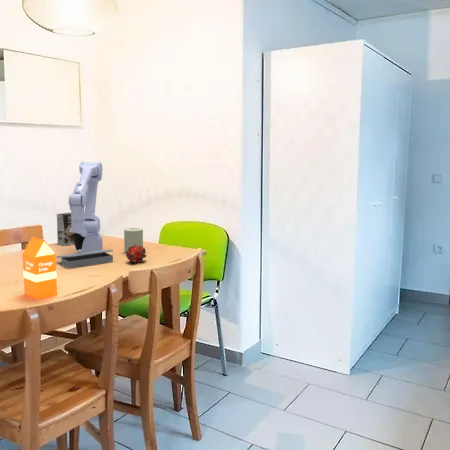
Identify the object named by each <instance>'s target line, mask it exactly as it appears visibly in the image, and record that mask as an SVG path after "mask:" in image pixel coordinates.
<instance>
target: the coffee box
mask: <svg viewBox="0 0 450 450" xmlns="http://www.w3.org/2000/svg"><path fill="white" fill-rule="evenodd" d="M56 228H57V229H56V231H57V233H56V234H57V245H60V246H65V247H66V246H72V245H75V244H74V241H73V239H72V237H71V235H72V234H74V233H73V232H69V230H70V228H72V226H71V212H65V213H63V212H62V213H56Z"/></svg>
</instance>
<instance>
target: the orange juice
mask: <svg viewBox="0 0 450 450" xmlns="http://www.w3.org/2000/svg"><path fill="white" fill-rule="evenodd" d="M21 254H22V269H23V271H22V272H23V273H22V274H23V286H24V287H23V289H24V290H23V291H24V295H26V294H27V295H26V296H28V295H29V296H28V297H30V296H31V297H30V298H32V297H33V298H32V299H35V300H39V299H40V300H41V299H44V298H49V297H54V296H57V295H58V283H57V280H58V279H57V262H56V261H57V260H56V259H57V256H56V252H54V250H53V249H52V248H51V247H50V245H49V244H48V242H47V241H46V240H45V239H43V238H39V237H36V236H31V239H30V240H29V242H28V244H27V245H26V248H25V249H24V251H23V252H22V253H21Z"/></svg>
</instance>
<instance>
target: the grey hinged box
mask: <svg viewBox="0 0 450 450" xmlns="http://www.w3.org/2000/svg"><path fill="white" fill-rule="evenodd" d="M60 262H61V265H62V266H63V267H66V268H67V269H76V268H83V267H89V266H95V265H102V264H108V263H109V262H110V263H113V262H114V255H113V254H110V253H109V252H103V253H96V254H89V255H81V256H74V257H63V258H60Z"/></svg>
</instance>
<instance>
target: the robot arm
mask: <svg viewBox="0 0 450 450" xmlns="http://www.w3.org/2000/svg"><path fill="white" fill-rule="evenodd" d="M78 167H79V168H78V169H79V170H78V171H79V173H80V178H79V182H76V183H75V186H74V189H73V191H72V193H70V194H69V197H68V206H69V210H70V213H71V226H72V228H70V230H69V232H73V233H74V234H72V235H71V237H72V239H73V241H74V244H73V245H74V248H75V250H76V251H77V250H79V249H81V253H85V252H93V251H101V250H104V249H103V236H102V234H101V233H100V232H101V231H100V230H101V220H100V217H98V216H97V215H96V203H97V191H98V185H99V182H101V181H102V178H103V163H101V161H98V162H97V161H95V162H94V161H87V162H86V161H81V162H80V163H79V166H78Z"/></svg>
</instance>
